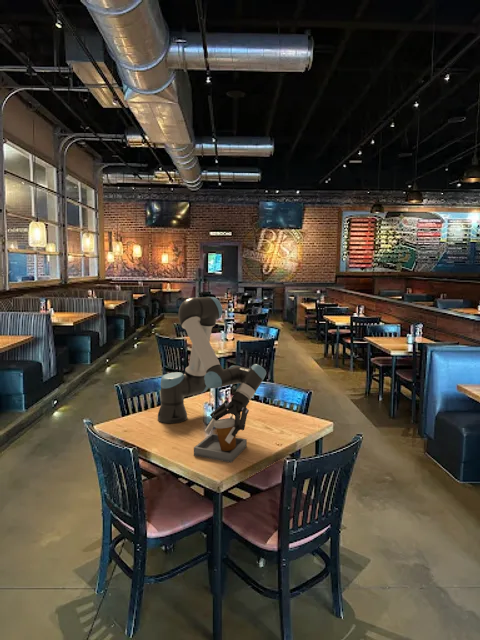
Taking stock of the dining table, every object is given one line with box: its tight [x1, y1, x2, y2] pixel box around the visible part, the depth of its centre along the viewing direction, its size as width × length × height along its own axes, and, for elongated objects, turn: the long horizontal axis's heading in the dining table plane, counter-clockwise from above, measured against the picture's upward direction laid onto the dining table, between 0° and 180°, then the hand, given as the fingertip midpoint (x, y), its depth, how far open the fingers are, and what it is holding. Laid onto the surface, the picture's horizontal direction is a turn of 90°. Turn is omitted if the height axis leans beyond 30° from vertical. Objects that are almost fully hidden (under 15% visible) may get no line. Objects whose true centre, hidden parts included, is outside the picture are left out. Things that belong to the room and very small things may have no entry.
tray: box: [193, 433, 248, 464], centre depth 186 cm, size 17×17×4 cm
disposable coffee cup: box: [214, 417, 237, 451], centre depth 185 cm, size 10×10×12 cm
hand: (216, 437), depth 184 cm, fingers open, 13 cm apart
